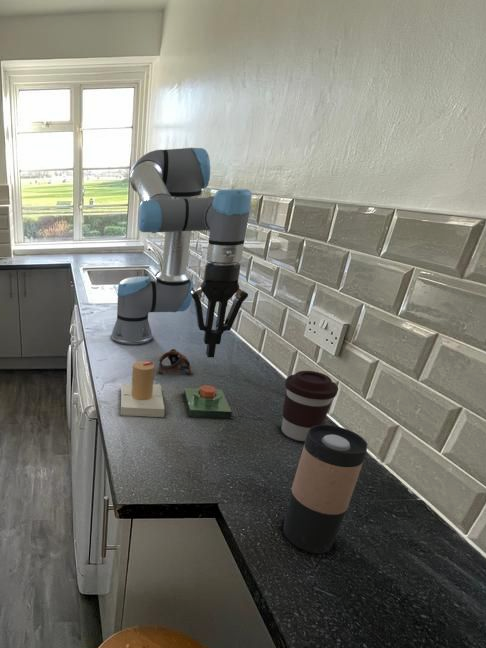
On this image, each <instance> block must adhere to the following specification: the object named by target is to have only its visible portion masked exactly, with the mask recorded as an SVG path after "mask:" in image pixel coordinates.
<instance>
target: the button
mask: <svg viewBox="0 0 486 648" xmlns="http://www.w3.org/2000/svg"><path fill="white" fill-rule="evenodd" d="M199 388H200V393H199V394H200V395H201V396H204V397H215V395H216V389H217V388H216V387H215V386H213V385H208V384H203V385H201V386H200V387H199Z"/></svg>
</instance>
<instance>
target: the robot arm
mask: <svg viewBox="0 0 486 648" xmlns="http://www.w3.org/2000/svg"><path fill="white" fill-rule="evenodd" d="M210 179H211V161H210V155H209V153H208V151H207V150H206V149H205V148H202V147H192V146H191V147H183V148H170V149H169V148H168V149H155V150H151V151H149V152H147V153H145V154H143V155H142V156H141V157H139V158H138V159H137V160H136V161H135V163H133V165H132V167H131V169H130V172H129V183H130V186H131V188H132V190H133V191H134V192H135V193H137V195H138V198H139V200H140V204H139V206H138V210H137V211H138V212H137V225H138V230H139V231H140V232H141V233H151V234H157V233H164V239H163V240H164V241H163V251H162V260H161V261H162V262H161V270H160V272H158V273H157V274H156V279H155V280H152V279H151V277H150V276H148V275H147V276H146V275H144V276H143V275H138V276H130V277H127V278H124V279H122V280H121V281H120V282H119V283H118V286H117V292H116V295H117V308H116V309H117V310H116V321H115V323H114V326H113V328H112V332H111V339H112V341H114V342H116V343H119V344H121V345H128V346H137V345H143V344H147V343H149V342H150V341H152V338H153V337H152V336H153V334H152V329H151V325H150V322H149V313H178V312H179V313H180V312H186V311H187V310H188V309H189V308H190V306H191V304H192V302H193V303H194V309H195V315H196V322H197V327H198V329H199V330H200V331H203V332H204V334H203V342H204V345H206V350H205V354H206V357H207V358H215V354H216V347H217V345H220V344H221V343H222V342H221V341H222V337H223V336H222V335H223V334H224V332H226V331H227V332H228V331H231V330H232V327H233V326H234V323H235V320H236V318H237V316H238V314H239V311H240V309H241V307H242V304H243V303H244V301H245V300H246V299H248V298H249V294H248V292H246V290H245V289H244V290H243V289H241V288H240V283H239V277H240V272H241V265H242V264H240V263H241V261H242V258H243V253H244V246H245V239H246V236H247V235H246V234H247V227H248V222H249V217H250V211H251V208H252V205H251V203H252V192H251V190H249V189H247V188H232V189H231V188H229V189H219V190H217V191H216V192H215V193H214V195H213V196H211V195H210V196H208V197H201V195H202V190H204V189H206V188H207V187H208V186H209V183H210ZM200 231H201V232H202V231H209V236H208V242H207V251H206V261H207V262H206V263H205V267H204V275H203V281H202V283H201V284H200V287H199V288H197V289H195V284H194V282H193V280H192V279H191V275H189V273H187V270H188V261H189V253H190V246H191V245H190V243H191V237H192V232H200ZM194 289H195V290H194ZM202 294H203V295H204V296H205V297H206V299H207V307H206V308H207V309H206V316H205V320H204V315H203V307H202V301H201V298H203V295H202ZM234 296H235V298H234V300H233V301H232V303H231V307H230V309H229V310H228V314H227V315H226V313H227V307H228V303H229V300H230V299H231V298H232V297H234ZM217 303H218V308H217V309H218V310H217V316H216V322H215V329H213V325H214V324H213V323H214V318H215V311H216V306H217ZM204 321H205V322H204Z"/></svg>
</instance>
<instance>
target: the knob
mask: <svg viewBox="0 0 486 648" xmlns="http://www.w3.org/2000/svg"><path fill="white" fill-rule="evenodd" d="M154 376H155V364H154V362H153V361H147V360H137V361H135V362H133V363H132V373H131V383H132V391H131V395H132V397H134V398H135V399H139V400H147V399H150V398H151V397H152V392H153V384H154V380H155V379H154Z"/></svg>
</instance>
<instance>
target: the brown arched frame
mask: <svg viewBox="0 0 486 648" xmlns="http://www.w3.org/2000/svg"><path fill="white" fill-rule="evenodd" d="M166 358H168V360H169V363H170V364H169V365H165V364H163V361H164V360H165V359H166ZM158 361H159V363H158V372H159V374H166V375H167V374H173V373H180V370H181V369H182V370H187V371H188V372H189V373H188V375H190V376H191V375H192V368H191V367H192V366H191V364H190V361H189V358H187V357H186V355H184V354H182V353H181V352H180V351H178V350H176V349H175V348H172V349H170V350H169V351H167V352H165V353H163V354H162V355H161V356H160V357H159V359H158Z"/></svg>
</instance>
